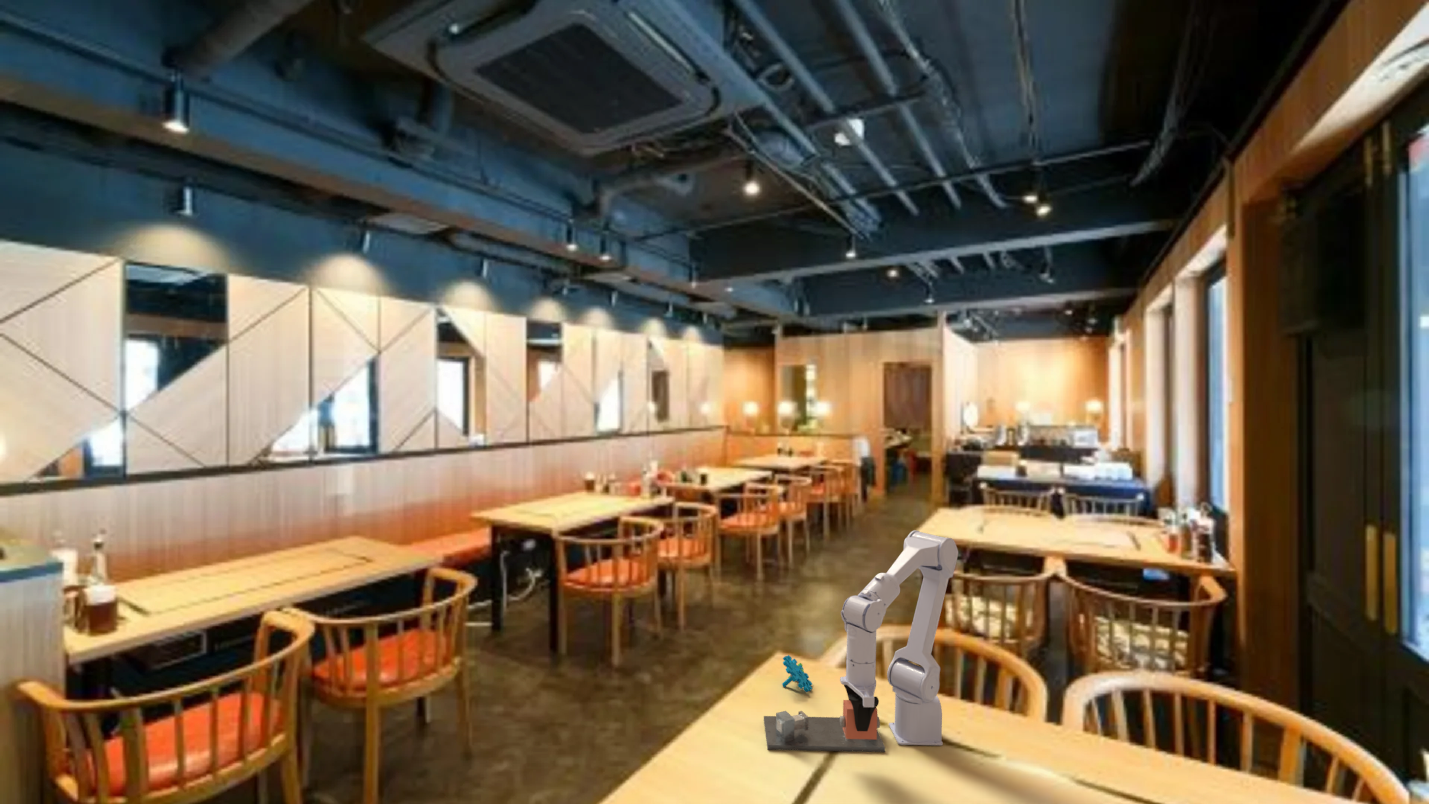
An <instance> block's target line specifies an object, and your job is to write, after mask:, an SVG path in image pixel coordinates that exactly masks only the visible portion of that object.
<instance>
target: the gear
mask: <svg viewBox="0 0 1429 804" xmlns="http://www.w3.org/2000/svg"><path fill="white" fill-rule="evenodd" d="M782 660H783V661H782V664H783V666H784V667H786V668H785V672H786V673H787V674H789V676H788V677H787V679H786V680H785V681H784V682H782V683H781V685H782V687H784V688H786V687H787V686H788V685H789V684H790V683H791V682H793V683H795V682H797V687H798V689H800V690H803V691H804V692H806V693H808V692H811V690H813V687H812V685H813V683H812V681H811V680H809V678H810V677H809V674H808V673H806V672H805V670H804V667H803V663H801V662H799V663H798V660H797V659H796V658H793V659H792V656H791V655H789V654H788V655H784V657H782Z"/></svg>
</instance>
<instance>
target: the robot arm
mask: <svg viewBox="0 0 1429 804" xmlns="http://www.w3.org/2000/svg"><path fill="white" fill-rule="evenodd" d="M958 556H959V550H958V547H957V543H956V542H955V540H954V539H953V538H951V537H946V536H945V537H944V536H940V535H939V536H938V535H935V534H931V533H928V532H927V533H926V532H922V531H920V530H915V529H914V530H912V531H910V532H909V534H908V535H907V536H906V537H905V539H904V541H903V550H902V552H901V553H900V554H899V556H898V557H897V558H896V560H894V562H893V563H892V565H891V566H890V568H889V569H888V570H887V572H880V573H877V574H876V575H875V576H874V577H873V578H872V579H871V580H870V582H869V583H868V584H867V585H866V586H865V587H864V588H863V589H862V590H861V591H860V592H859V593H858V594H857V595H851V596H848V597H847V599H845V601H844V602H843V605H842V610H841V611H840V616H841V617H840V618H841V620H842V622H843V623H844V630H845V632H846V665H845V666H846V669H845V676H840V678H839V681H840V684H841V685H843V687H844V688H845V692H846V695H847V698H848V699H847V700H850V701H851V703H852V706H853V710H854V717H855V725H856V729H857V731H868V728H869V724H870V721H871V717H872V714H873V712H874V710H875V708H877V707H878V706H879V704H880V703H879V702H880V700H879V698H878V696H875V691H876V688H877V679H876V672H877V671H876V667H877V666H876V663H877V661H876V660H877V631H878V629H880V628H881V626H882V623H883V621H884V618H885V615H886V614H887V613H886V612H887V609H888V608H889V606H891V604H892V603H893V602H894V601H895V599H896V598H897V597H898V596H899V595H900V592H901V587H900V585H901V584H902V583H903V582H904V581H905V580H906V579H907V578H909V576H911V575H912V574H913V573H915V571H917V569H918V570H919V571H920V572H921V574H922V576H923V579H922V583H921V587H920V590H919V595H918V599H917V603H916V606H915V611H914V615H913V619H912V623H911V628H910V631H909V635H908V638H907V639H908V640H907V643H906V646H904V647H901V648H899V649H898V650H896V651H895V652H894V656H893V658H892V660H891V661H890V664H889V666H888V668H887V673H886V674H887V675H886V676H887V681H888V684H889V685H890V686H892V692H894V693H895V694H894V696H895V700H894V705H895V706H894V722H889V723H888V727H889V728H890V731H891V732H892V735H893V736H894V738H895V740H896V742H897V744H898V745H903V746H904V745H905V746H907V745H909V746H943V741H942V738H943V737H942V735H943V734H942V733H943V732H942V731H943V710H942V704H941V701H940V698H939V697H938V693H939V690H940V674H941V673H940V672H941V666H940V665H939V664H938V662H937V661H936V659H935V658H934V656H933V655H932V651H933V646H934V642H935V638H936V634H937V630H938V626H939V621H940V618H941V617H940V616H941V612H942V609H943V605H944V604H943V603H944V601H945V600H944V599H945V596H946V591H947V587H948V583H949V580H950V578H953V577H954V574H955V569H956V565H957V561H958ZM919 665H920V666H919Z"/></svg>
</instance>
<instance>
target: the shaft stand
mask: <svg viewBox="0 0 1429 804" xmlns="http://www.w3.org/2000/svg"><path fill="white" fill-rule="evenodd" d="M877 717H879V715H878V713H877ZM763 725H764V733H765V738H766V740H765V741H766V747H767V750H768V751H803V752H805V751H807V752H809V751H810V752H811V751H812V752H813V751H814V752H853V753H854V752H858V753H859V752H860V753H862V752H865V753H886V746H885V744H884V742H883V740H882V737H881V735H880V733H879V731H878V730H877V739H846V737H845V734H844V731H843V727H841V726H840V716H839V717H837V716H836V717H834V716H830V717H829V716H828V717H827V716H826V717H825V716H808V715H807V714H806V713H805V712H803V711H802V710H800V711H798V713H797V714H795V715H791V714H790V713H789V712H788V711H787V710H783V711H780V712H776V714H775V715H763Z"/></svg>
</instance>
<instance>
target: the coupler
mask: <svg viewBox="0 0 1429 804" xmlns="http://www.w3.org/2000/svg"><path fill="white" fill-rule="evenodd" d="M877 714H878V709H877V707H876V708H875V710H874V712H873V714H872V717H871V721H870V724H869V728H868V731H857V729H856V725H855V717H854V710H853V706H852V703H851V701H850V700H849V699H843V701H842V715H840V716H839V717H840V726H841V727H843V731H844V734H845V737H846V739H877V731H878V729H879V728H880V727H881V721H880V717H879V716H878V717H877Z"/></svg>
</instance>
